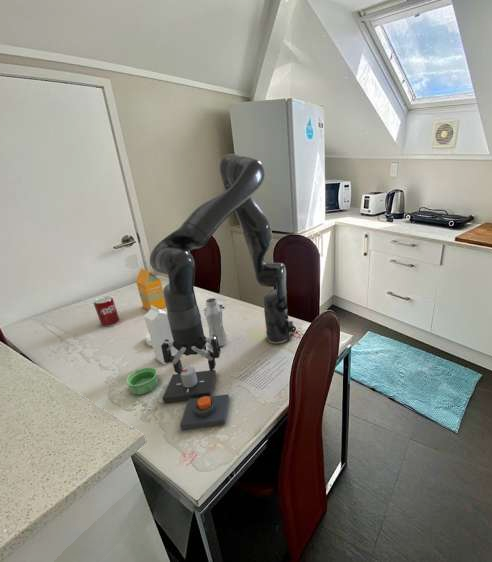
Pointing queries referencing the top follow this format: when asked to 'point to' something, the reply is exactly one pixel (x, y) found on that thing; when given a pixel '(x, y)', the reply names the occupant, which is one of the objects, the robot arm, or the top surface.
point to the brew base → (181, 393)
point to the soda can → (106, 311)
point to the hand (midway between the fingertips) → (196, 370)
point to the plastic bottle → (215, 321)
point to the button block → (205, 413)
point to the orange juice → (150, 290)
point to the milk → (159, 331)
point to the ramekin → (142, 380)
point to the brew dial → (189, 377)
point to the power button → (204, 403)
